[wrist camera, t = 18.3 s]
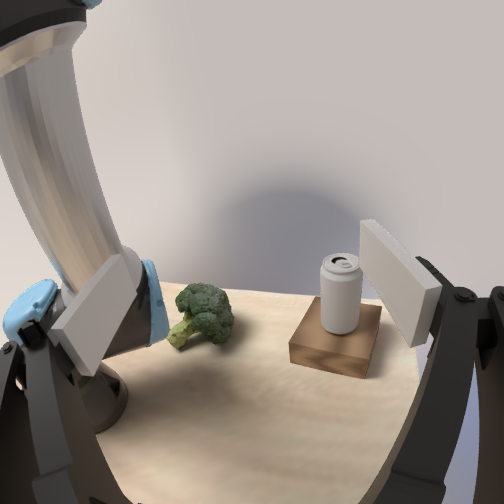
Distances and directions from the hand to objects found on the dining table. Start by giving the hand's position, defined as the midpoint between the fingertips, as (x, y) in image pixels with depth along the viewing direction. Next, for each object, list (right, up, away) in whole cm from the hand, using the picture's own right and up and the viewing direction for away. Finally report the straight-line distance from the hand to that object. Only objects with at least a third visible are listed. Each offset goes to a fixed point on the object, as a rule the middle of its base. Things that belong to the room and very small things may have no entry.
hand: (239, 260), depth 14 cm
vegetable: (-9, -17, +39) cm, 43 cm away
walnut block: (+16, -16, +31) cm, 39 cm away
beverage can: (+15, -12, +29) cm, 35 cm away
